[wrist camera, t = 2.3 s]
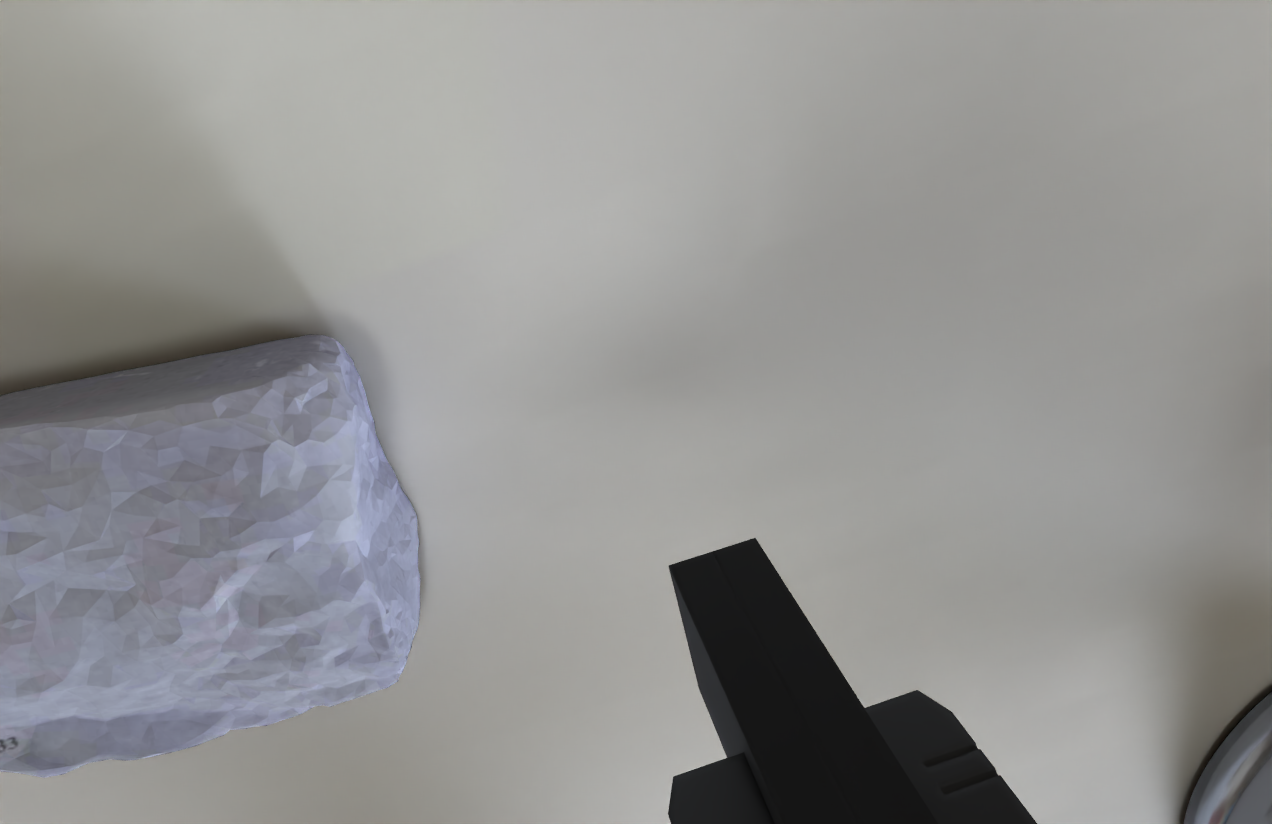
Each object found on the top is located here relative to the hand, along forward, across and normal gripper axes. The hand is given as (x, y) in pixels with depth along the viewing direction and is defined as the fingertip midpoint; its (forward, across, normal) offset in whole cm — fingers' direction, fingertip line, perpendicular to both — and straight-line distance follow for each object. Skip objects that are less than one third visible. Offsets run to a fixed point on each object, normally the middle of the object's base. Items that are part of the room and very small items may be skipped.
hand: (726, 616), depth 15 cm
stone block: (+10, +12, 0) cm, 15 cm away
